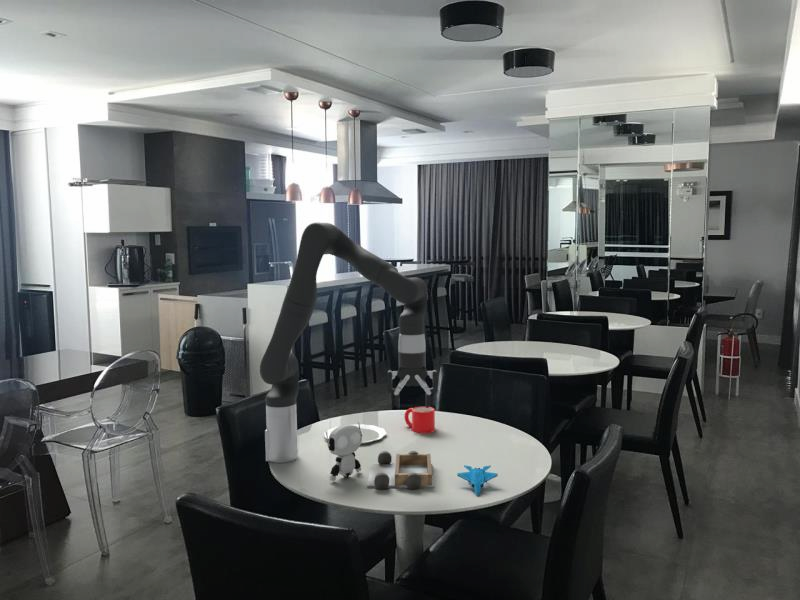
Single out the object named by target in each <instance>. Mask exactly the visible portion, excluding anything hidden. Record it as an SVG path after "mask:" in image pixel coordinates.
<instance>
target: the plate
mask: <svg viewBox="0 0 800 600" xmlns="http://www.w3.org/2000/svg"><path fill="white" fill-rule="evenodd" d="M353 425H354V426H357V427H359V425H358V423H357V424H356V423H355V424H353ZM337 427H338V426H335V427H332V428H329V429H328V430H326V431H327V435H328V439H329V436H330V434H331V432H332V431H333V430H334V429H336V428H337ZM360 429H361V430H370V431H372V432H376V433H377V434H378V437H377V438H374V439H372V440H371V439H370V440H367V441H361V445H363V444H368V443H373V442H375V441H378V440H381V439H383V438H384V437H385V436H386V435H387V431H386V430H385V429H384V428H383V427H379V426H376V425H372V424H363V423H360ZM326 431H324V433H323V435H324V439H326V440H327V436H326Z"/></svg>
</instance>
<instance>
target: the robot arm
mask: <svg viewBox="0 0 800 600" xmlns="http://www.w3.org/2000/svg"><path fill="white" fill-rule="evenodd" d="M324 255H330V256H334V257H336V258H339V259H341V260H343V261H345V262H347V263H348V264H350V265H351V266H352V267H353V269H355V270H356V271H357V272H358V273H359V274H360V276H362V277H364V278H365V279H366V280H368V281H369V282H371V283H372V284H375V285H376V286H378V287H380V288H382V289H383V290H384V291H385V292H386V293H387V294H388V295H389V296H391V298H393V299H394V300H396V301H397V302H399V303H401V304H403V305H404V306H403V310H402V312H401V314H400V315H399V319H398V341H397V342H398V343H397V344H398V346H397V348H398V349H397V350H398V370H393V371H392V370H391V369H389V370H387V392H388V393H389V394H393V397H394V398H393V399H394V403H393V404H394V405H393V406H395V407H396V409H400V392H401V391H402V390H403V388H405V387H404V386H406V387H412V386H413V387H419V386H420V387H421V388H422V389H423V390H424V392H425V407H426V408H429V407H431V405H432V394H436V393H438V371H437V370H436V369H433V370H427V368H426V367H427V366H426V365H427V363H426V361H427V357H426V356H427V355H426V351H427V350H426V347H427V346H426V337H425V315H426V311H427V304H428V297H429V292H428V286H427V284H426V282H425V281H424V280H423V279H422V278H420V277H406V276H404V275H403V274H401V273H400V272H399V270H398V268H397V267H396V266H395V265H393V264H392V263H390V262H388V261H386V260H384V259H383V258H381V257H379V256H377V255H376V254H374V253H373V252H370V251H369V250H367V249H365V248H364V247H363V246H362V245H360V244H358V243H357V242H355V241H354V240H353V239H351V238H350V237H349V235H347V234H346V233H345V232H343V231H342V230H341V229H340V228H338V227H337V226H336V225H334V224H332V223H330V222H312V223H310V224H308V225H307V226H306V227H305V228H304V230H303V232H302V235H301V238H300V242H299V247H298V252H297V255H296V256H297V257H296V261H295V265H294V268H293V271H292V274H291V278H290V280H289V284H288V287H287V290H286V293H285V295H284V298H283V301H282V303H281V304H282V305H281V308H280V311H279V315H278V317H277V320H276V323H275V326H274V330H273V333H272V336H271V337H270V338H271V339H270V340H269V343H268V345H267V347H266V350H265V352H264V354H263V356H262V358H261V361H260V364H259V374H260V378H261V379H262V380H263V382H264V383H265V384H268V385H271V387H270V390H269V391H268V392H267V394H266V395H265V415H266V416H265V420H266V421H265V423H266V429H265V430H264V442H265V445H264V446H265V448H264V449H265V462H271V463H276V464H278V463H280V464H283V463H290V462H292V461H295V460H297V459H298V458H297V457H299V455H298V452H299V451H298V450H299V449H298V421H297V416H298V415H297V413H298V412H297V398H298V395H299V386H300V385H299V384H300V381H299V379H300V370H299V369H300V368H299V362H298V359H297V357H296V356H295V354H294V353H293V352H291V351H292V349H293V347H294V345H295V343H296V342H297V340H298V338H299V337H300V336H301V335H302V333H303V332H304V330H305V328H306V327H307V326H308V324H309V322H310V320H311V318H312V316H313V313H314V311H315V306H316V303H317V299H318V288H317V287H318V285H317V274H318V271H319V267H320V264H321V261H322V258H323V257H324ZM396 376H397V377H398V379H399V380H400V381H399V382H398V384H397V386H396V387H395V388H394V387H393V380H394V379H395V378H396ZM428 376H429V378H430V379H431V380H432V387H431V388H430V387H429V385H428V384H427V382H426V381H425V380H426V378H427V377H428ZM296 458H297V459H296Z"/></svg>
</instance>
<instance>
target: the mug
mask: <svg viewBox="0 0 800 600" xmlns="http://www.w3.org/2000/svg"><path fill="white" fill-rule="evenodd" d="M428 407H429V408H426V406H414V407H410V408H408V409H407V410H406V411H405V413H404V421H405V423H406V425H407V426H408V427H409V428H411V430H412V431H413V432H414V433H416V434H417V433H418V434H430V433H432V432H435V430H436V422H435V421H436V420H435V419H436V415H435V414H436V413H435V412H436V411H435V408H434V407H432V406H428ZM410 414H411V421H410V418H409V415H410Z"/></svg>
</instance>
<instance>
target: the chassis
mask: <svg viewBox="0 0 800 600" xmlns="http://www.w3.org/2000/svg"><path fill="white" fill-rule="evenodd" d="M392 458H393V457H392V454H391V452H389V451H387V450H383V451H380V452H379V453H378V456H377V462H378V463H371V464H370V470H369V473H368V474H369V475H368V480H367V485H366V486H367V487H366V488H370V489H374V488H376V489H377V490H380V491H382V490H386V489H387V488H388V489H389V488H391V489H393V488H395V489H396V488H400V489H401V488H402V489H403V488H405V489H406V488H408V489H409V490H412V491H415V490H417V489H419V488H422V489H423V488H427V489H428V488H435V482H434V469H433V463H432V460H431V458H432V457H431V453H419V452H418V451H416V450H411V451H409V452H408V453H396V456H395V463H392Z"/></svg>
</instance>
